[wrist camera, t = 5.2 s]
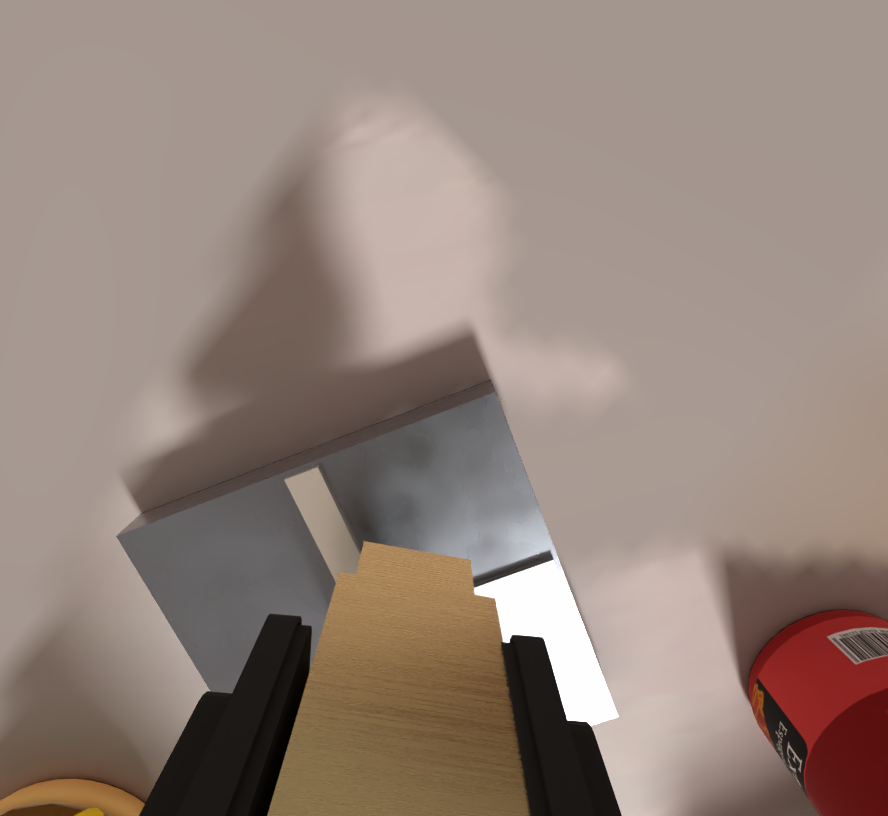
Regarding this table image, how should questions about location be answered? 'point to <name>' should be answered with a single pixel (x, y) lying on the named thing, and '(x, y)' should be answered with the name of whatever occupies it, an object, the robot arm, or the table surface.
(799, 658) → the canned food
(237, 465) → the table surface
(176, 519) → the grey slotted plate
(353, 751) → the wooden zigzag joint
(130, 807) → the hamburger
